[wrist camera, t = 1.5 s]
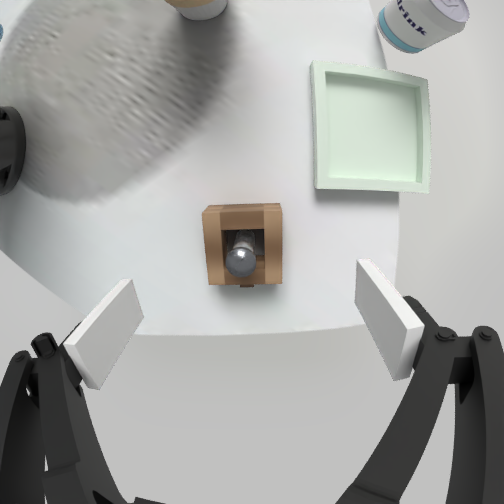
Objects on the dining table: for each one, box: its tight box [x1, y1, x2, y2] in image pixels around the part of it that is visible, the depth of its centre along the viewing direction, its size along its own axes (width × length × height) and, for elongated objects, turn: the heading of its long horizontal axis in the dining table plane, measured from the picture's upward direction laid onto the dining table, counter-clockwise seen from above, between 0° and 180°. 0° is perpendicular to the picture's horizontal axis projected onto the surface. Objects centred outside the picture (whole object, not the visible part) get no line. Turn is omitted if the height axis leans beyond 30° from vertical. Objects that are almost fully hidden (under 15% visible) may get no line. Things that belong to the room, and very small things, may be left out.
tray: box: [310, 61, 431, 194], centre depth 26 cm, size 14×14×2 cm
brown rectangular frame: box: [202, 203, 282, 287], centre depth 31 cm, size 10×8×4 cm
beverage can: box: [377, 0, 469, 53], centre depth 17 cm, size 7×7×12 cm
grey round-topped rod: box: [226, 229, 256, 277], centre depth 29 cm, size 3×3×8 cm
